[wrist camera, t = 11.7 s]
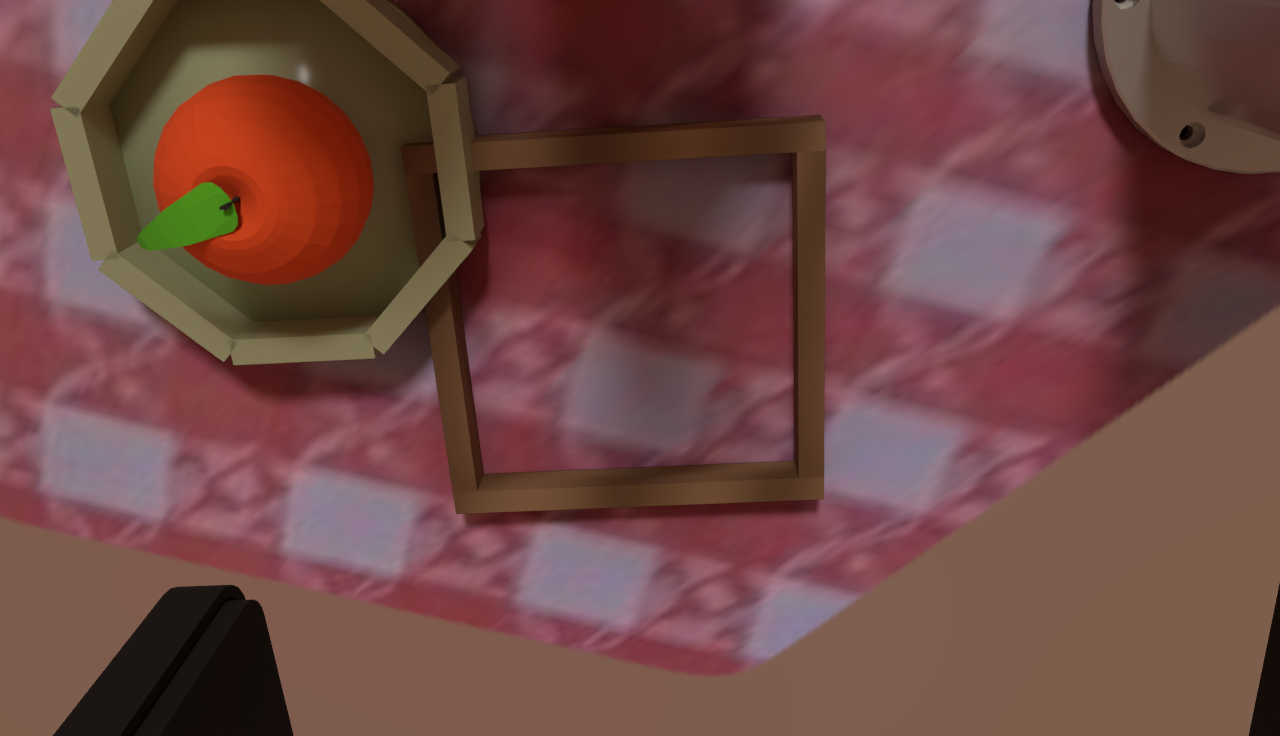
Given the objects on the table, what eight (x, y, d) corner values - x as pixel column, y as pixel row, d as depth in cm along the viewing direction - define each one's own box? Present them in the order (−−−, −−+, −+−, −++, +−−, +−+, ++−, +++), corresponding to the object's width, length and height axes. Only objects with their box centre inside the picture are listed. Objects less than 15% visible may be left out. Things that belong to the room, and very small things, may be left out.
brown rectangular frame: (820, 115, 37) (825, 121, 36) (819, 481, 43) (823, 499, 41) (410, 139, 38) (400, 146, 37) (462, 496, 44) (456, 513, 42)
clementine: (249, 292, 40) (165, 361, 33) (145, 125, 37) (32, 164, 31) (430, 207, 38) (379, 262, 32) (333, 28, 36) (256, 47, 29)
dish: (454, -56, 35) (437, -56, 33) (501, 327, 41) (489, 352, 38) (60, -29, 36) (13, -26, 34) (156, 344, 41) (122, 370, 39)
